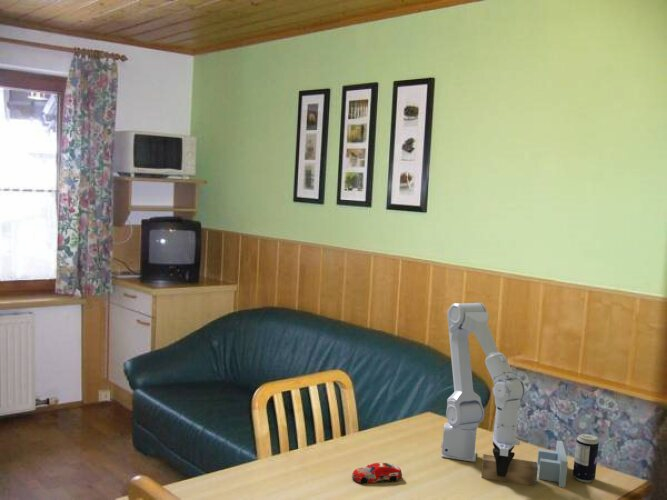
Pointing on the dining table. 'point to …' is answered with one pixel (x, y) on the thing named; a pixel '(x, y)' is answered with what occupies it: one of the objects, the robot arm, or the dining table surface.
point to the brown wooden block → (511, 471)
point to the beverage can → (585, 457)
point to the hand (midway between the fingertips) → (501, 472)
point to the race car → (377, 473)
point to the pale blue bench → (553, 464)
